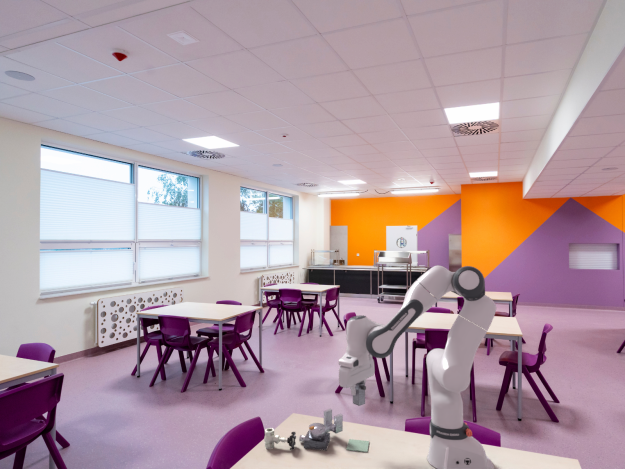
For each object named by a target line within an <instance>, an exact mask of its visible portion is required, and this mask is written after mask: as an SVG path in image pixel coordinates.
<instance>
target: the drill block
mask: <svg viewBox="0 0 625 469" xmlns="http://www.w3.org/2000/svg"><path fill="white" fill-rule="evenodd" d="M298 438H299V440H298V441H299V442H302V443H303V449H310V450H315V451H316V450H318V451H319V450H320V451H327V449H328V447H329V444H330V442H331V432H328V433H325V437H324V438H323V439H320V440H314V439H311V438H310V437H309V430H308V431H307V433H306V435H303V434H302V435H301V434H300V435H299V437H298Z"/></svg>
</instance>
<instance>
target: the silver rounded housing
mask: <svg viewBox="0 0 625 469" xmlns="http://www.w3.org/2000/svg"><path fill="white" fill-rule="evenodd" d="M343 416H344V415H343V414H342V413H339V414H336V415H333V409H332V408H328V409H326V410H323V423H321V422H313V423H310V425H309V426H308V431H309V437H310V438H311V439H314V440H320V439H323V438H324V437H325V433H331V432H332V433H334V434H338V433H341V432H343V430H344V428H343V427H344V426H343V423H344V422H343V418H344V417H343Z"/></svg>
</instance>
